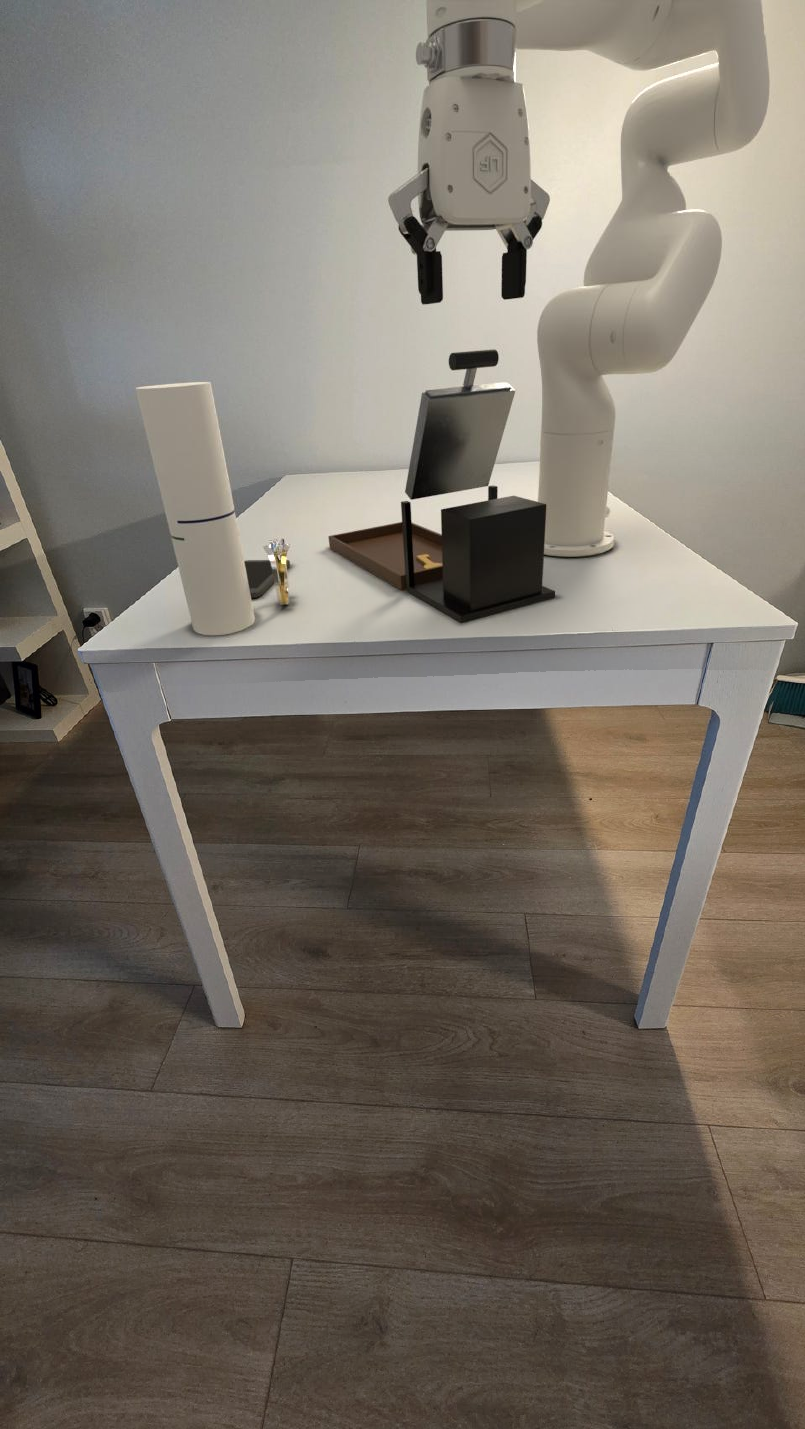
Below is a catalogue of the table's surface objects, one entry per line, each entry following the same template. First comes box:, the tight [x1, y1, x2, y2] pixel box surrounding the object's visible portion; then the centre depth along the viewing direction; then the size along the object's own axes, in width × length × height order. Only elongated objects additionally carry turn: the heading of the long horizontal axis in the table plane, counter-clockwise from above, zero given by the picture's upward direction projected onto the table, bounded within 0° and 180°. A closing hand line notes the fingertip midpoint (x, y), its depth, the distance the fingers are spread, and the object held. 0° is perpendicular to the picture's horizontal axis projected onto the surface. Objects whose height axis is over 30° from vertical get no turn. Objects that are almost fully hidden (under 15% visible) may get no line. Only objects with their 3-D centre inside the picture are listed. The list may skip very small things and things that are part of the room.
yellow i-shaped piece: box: [416, 554, 442, 569], centre depth 89 cm, size 7×3×1 cm, turn 20°
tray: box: [327, 521, 443, 591], centre depth 93 cm, size 24×14×2 cm, turn 28°
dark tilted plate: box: [404, 349, 517, 501], centre depth 72 cm, size 16×11×2 cm
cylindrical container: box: [135, 381, 256, 636], centre depth 69 cm, size 7×7×25 cm
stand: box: [400, 484, 556, 624], centre depth 76 cm, size 13×13×11 cm
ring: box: [262, 538, 291, 606], centre depth 78 cm, size 7×3×8 cm, turn 3°
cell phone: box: [244, 559, 291, 599], centre depth 88 cm, size 7×14×1 cm, turn 171°
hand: (473, 301), depth 64 cm, fingers open, 9 cm apart
